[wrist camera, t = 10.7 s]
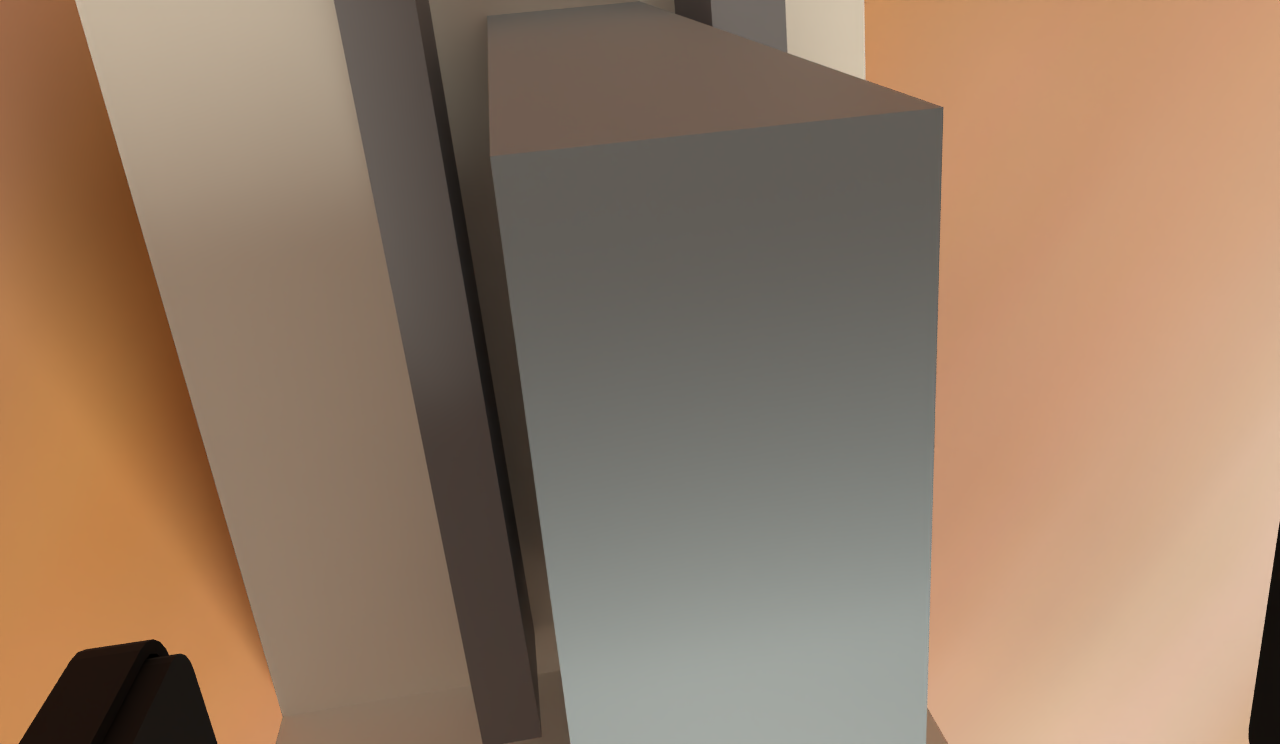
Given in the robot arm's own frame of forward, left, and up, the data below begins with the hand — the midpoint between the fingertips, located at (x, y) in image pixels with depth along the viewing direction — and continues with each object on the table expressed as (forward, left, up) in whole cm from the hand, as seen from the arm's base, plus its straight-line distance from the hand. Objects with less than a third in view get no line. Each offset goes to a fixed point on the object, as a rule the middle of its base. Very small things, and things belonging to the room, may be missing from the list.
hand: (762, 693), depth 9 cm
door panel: (0, 0, -10) cm, 10 cm away
